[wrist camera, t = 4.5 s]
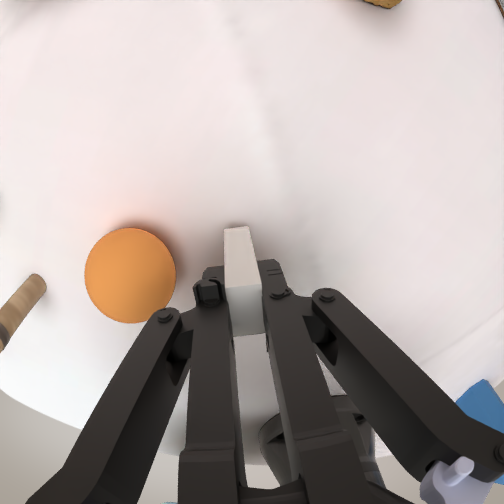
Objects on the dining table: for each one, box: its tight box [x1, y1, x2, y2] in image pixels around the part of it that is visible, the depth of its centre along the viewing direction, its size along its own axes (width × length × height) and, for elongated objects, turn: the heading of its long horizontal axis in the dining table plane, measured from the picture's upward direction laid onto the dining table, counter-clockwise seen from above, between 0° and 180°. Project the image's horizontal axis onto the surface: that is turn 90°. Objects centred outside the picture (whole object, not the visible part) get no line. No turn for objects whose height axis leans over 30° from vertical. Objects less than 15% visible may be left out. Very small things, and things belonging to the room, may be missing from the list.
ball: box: [84, 228, 176, 323], centre depth 17 cm, size 6×6×6 cm
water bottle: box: [456, 379, 504, 485], centre depth 27 cm, size 9×9×25 cm
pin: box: [0, 274, 46, 353], centre depth 16 cm, size 2×2×9 cm
